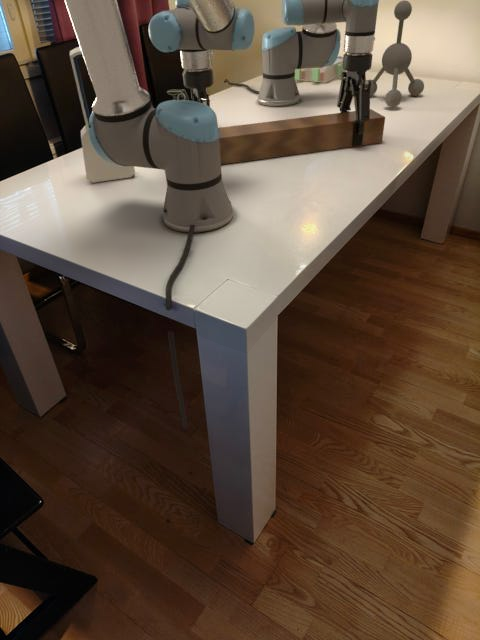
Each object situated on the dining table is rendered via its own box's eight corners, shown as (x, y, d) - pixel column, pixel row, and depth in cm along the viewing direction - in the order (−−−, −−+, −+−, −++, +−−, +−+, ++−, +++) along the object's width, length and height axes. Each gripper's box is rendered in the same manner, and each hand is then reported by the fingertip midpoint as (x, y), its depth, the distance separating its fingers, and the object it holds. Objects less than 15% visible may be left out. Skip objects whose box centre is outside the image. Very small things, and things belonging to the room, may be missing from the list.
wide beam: (179, 170, 130) (176, 143, 126) (175, 159, 137) (171, 133, 133) (382, 142, 140) (385, 117, 135) (368, 133, 147) (371, 109, 142)
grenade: (169, 124, 164) (164, 92, 158) (174, 119, 168) (171, 88, 162) (187, 125, 162) (184, 92, 156) (193, 120, 167) (189, 88, 161)
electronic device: (87, 183, 126) (55, 53, 107) (87, 173, 131) (56, 48, 113) (136, 176, 128) (112, 47, 110) (133, 167, 134) (110, 43, 115)
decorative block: (314, 53, 218) (356, 56, 208) (314, 69, 221) (354, 72, 212) (284, 64, 202) (328, 68, 192) (284, 81, 205) (327, 85, 196)
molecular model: (443, 101, 169) (463, -1, 151) (390, 111, 164) (404, 5, 145) (402, 88, 187) (415, -6, 169) (352, 96, 181) (360, 0, 163)
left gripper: (221, 75, 113) (227, 170, 127) (204, 60, 130) (211, 145, 144) (189, 79, 112) (199, 174, 126) (176, 62, 129) (186, 148, 142)
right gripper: (391, 58, 120) (379, 150, 134) (354, 45, 137) (346, 127, 151) (362, 61, 119) (353, 153, 133) (329, 47, 135) (324, 130, 149)
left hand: (205, 158), depth 135 cm, fingers closed on wide beam, 9 cm apart
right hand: (350, 139), depth 142 cm, fingers closed on wide beam, 9 cm apart
